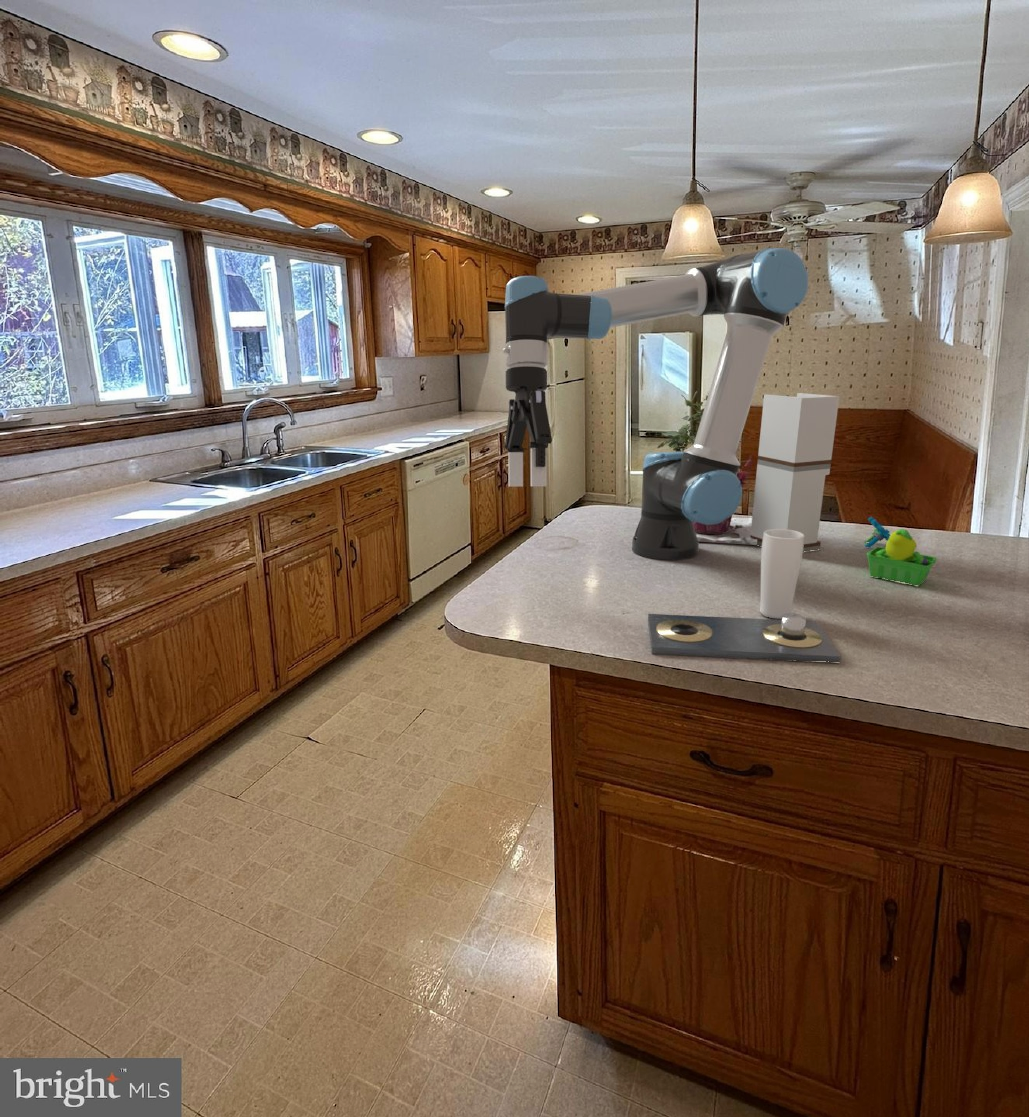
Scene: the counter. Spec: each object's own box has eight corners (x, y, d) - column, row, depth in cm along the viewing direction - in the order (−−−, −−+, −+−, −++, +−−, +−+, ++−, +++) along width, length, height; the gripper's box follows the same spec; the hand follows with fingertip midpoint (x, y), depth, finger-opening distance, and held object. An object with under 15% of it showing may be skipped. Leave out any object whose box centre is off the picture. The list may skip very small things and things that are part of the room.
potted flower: (754, 520, 190) (764, 386, 179) (756, 544, 167) (769, 393, 157) (653, 515, 197) (658, 386, 187) (643, 538, 174) (648, 393, 164)
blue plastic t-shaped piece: (908, 549, 159) (877, 516, 159) (885, 566, 160) (854, 533, 161) (897, 543, 169) (868, 512, 170) (876, 559, 171) (847, 528, 172)
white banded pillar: (819, 550, 164) (839, 396, 154) (784, 555, 160) (801, 398, 150) (784, 538, 174) (800, 393, 164) (749, 543, 170) (764, 394, 160)
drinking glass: (794, 610, 128) (804, 530, 124) (795, 623, 122) (805, 540, 118) (755, 605, 130) (763, 527, 126) (754, 619, 124) (762, 536, 120)
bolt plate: (814, 627, 120) (818, 603, 119) (839, 663, 107) (843, 636, 106) (647, 620, 124) (649, 596, 123) (651, 653, 111) (653, 627, 109)
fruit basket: (933, 581, 143) (943, 527, 140) (921, 592, 137) (931, 536, 134) (873, 569, 151) (881, 517, 147) (859, 579, 145) (867, 525, 141)
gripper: (488, 377, 138) (489, 486, 140) (527, 354, 114) (528, 486, 117) (525, 379, 140) (525, 486, 143) (571, 357, 117) (570, 486, 119)
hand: (526, 486), depth 130 cm, fingers open, 13 cm apart
